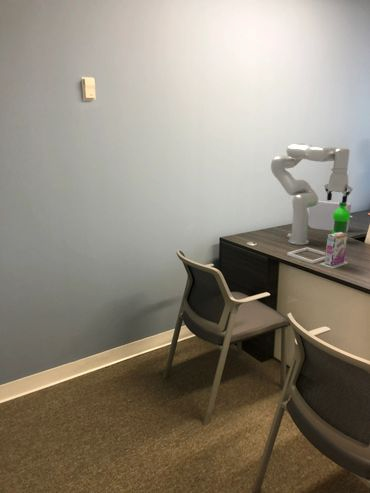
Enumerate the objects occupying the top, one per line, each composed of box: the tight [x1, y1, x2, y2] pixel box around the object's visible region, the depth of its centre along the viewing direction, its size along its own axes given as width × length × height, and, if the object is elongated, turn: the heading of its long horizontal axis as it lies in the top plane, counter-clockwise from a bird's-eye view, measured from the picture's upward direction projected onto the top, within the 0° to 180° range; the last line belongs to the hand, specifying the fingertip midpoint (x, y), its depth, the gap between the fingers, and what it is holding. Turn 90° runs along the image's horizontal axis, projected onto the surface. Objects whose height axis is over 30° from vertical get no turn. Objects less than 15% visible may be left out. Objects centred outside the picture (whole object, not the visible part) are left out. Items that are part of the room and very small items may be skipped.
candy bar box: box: [323, 232, 349, 266], centre depth 204 cm, size 11×5×16 cm, turn 124°
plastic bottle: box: [331, 201, 351, 234], centre depth 245 cm, size 10×10×25 cm
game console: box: [308, 200, 352, 233], centre depth 273 cm, size 6×27×20 cm, turn 58°
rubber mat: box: [319, 260, 349, 270], centre depth 206 cm, size 8×14×1 cm, turn 125°
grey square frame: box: [286, 246, 326, 264], centre depth 219 cm, size 18×18×2 cm
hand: (336, 201), depth 218 cm, fingers open, 9 cm apart
